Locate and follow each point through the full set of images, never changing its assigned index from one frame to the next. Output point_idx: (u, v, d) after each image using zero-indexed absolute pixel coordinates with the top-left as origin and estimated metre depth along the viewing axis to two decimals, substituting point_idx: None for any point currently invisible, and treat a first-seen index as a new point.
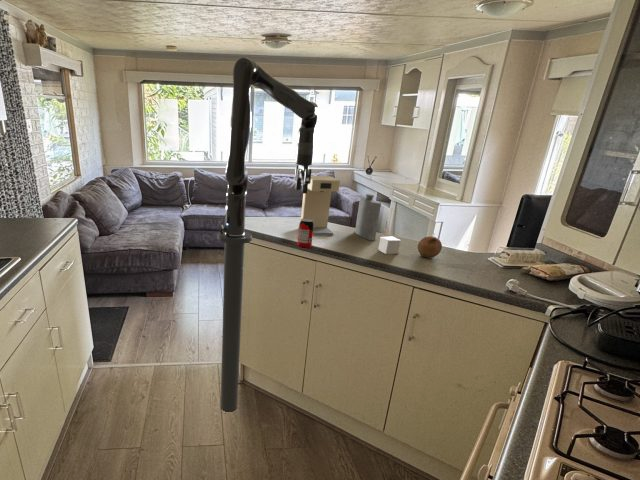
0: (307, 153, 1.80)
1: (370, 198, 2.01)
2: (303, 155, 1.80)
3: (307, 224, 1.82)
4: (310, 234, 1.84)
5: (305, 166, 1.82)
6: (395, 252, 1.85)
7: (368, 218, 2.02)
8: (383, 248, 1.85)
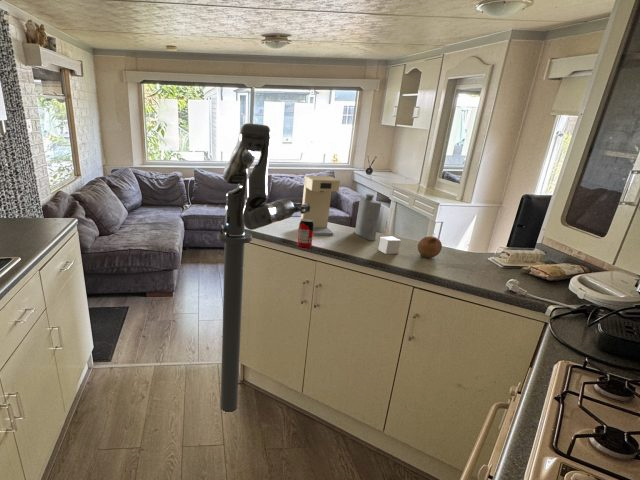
0: None
1: (370, 198, 2.01)
2: None
3: (307, 224, 1.82)
4: (310, 234, 1.84)
5: None
6: (395, 252, 1.85)
7: (368, 218, 2.02)
8: (383, 248, 1.85)
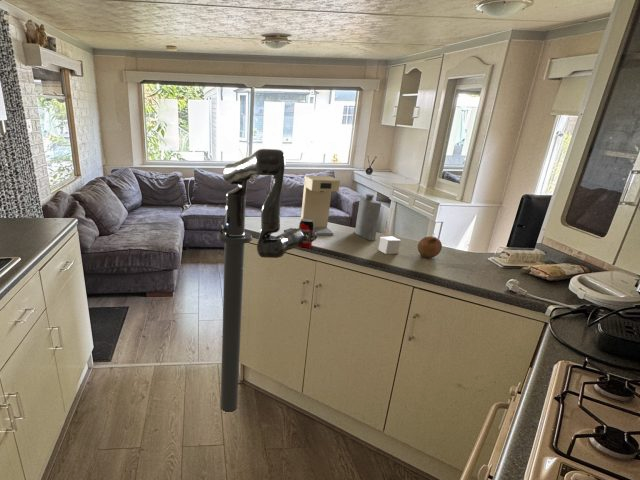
0: None
1: (370, 198, 2.01)
2: None
3: (307, 224, 1.82)
4: (310, 234, 1.84)
5: None
6: (395, 252, 1.85)
7: (368, 218, 2.02)
8: (383, 248, 1.85)
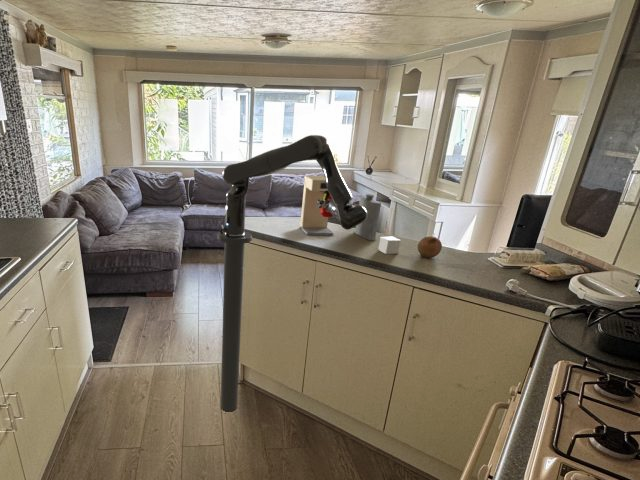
0: (330, 208, 1.80)
1: (370, 198, 2.01)
2: (331, 204, 1.81)
3: None
4: None
5: (327, 205, 1.85)
6: (395, 252, 1.85)
7: (368, 218, 2.02)
8: (383, 248, 1.85)
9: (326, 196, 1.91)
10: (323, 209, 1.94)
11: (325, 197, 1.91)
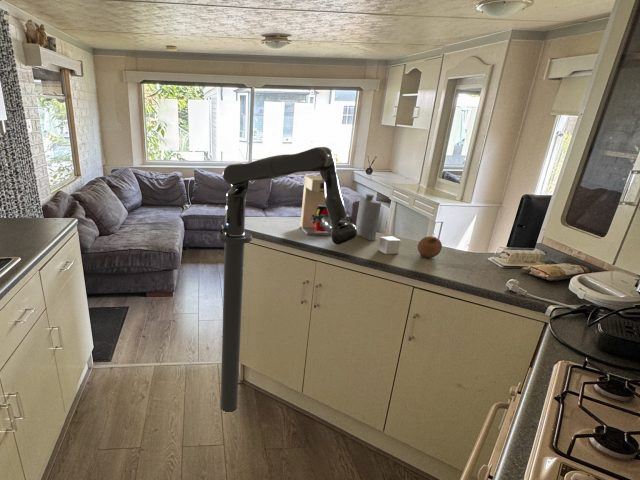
0: (323, 223, 1.90)
1: (370, 198, 2.01)
2: (324, 220, 1.90)
3: None
4: None
5: (320, 220, 1.95)
6: (395, 252, 1.85)
7: (368, 218, 2.02)
8: (383, 248, 1.85)
9: (319, 211, 2.00)
10: (317, 224, 2.03)
11: (318, 212, 2.01)
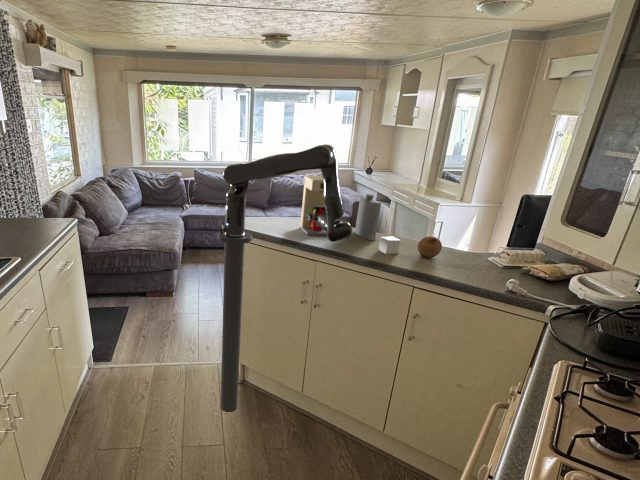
0: (319, 222, 1.96)
1: (370, 198, 2.01)
2: (320, 218, 1.96)
3: (324, 209, 2.06)
4: None
5: (316, 218, 2.00)
6: (395, 252, 1.85)
7: (368, 218, 2.02)
8: (383, 248, 1.85)
9: (316, 212, 2.06)
10: (313, 223, 2.09)
11: (315, 212, 2.07)
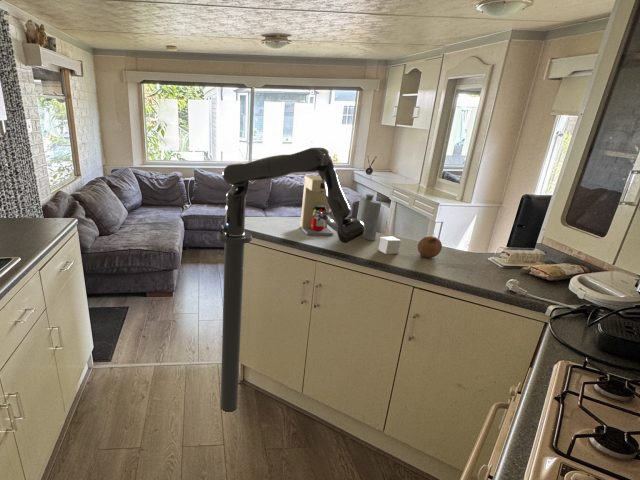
0: (329, 220, 1.83)
1: (370, 198, 2.01)
2: (329, 216, 1.83)
3: (324, 209, 2.06)
4: None
5: (325, 217, 1.87)
6: (395, 252, 1.85)
7: (368, 218, 2.02)
8: (383, 248, 1.85)
9: None
10: (313, 223, 2.09)
11: None
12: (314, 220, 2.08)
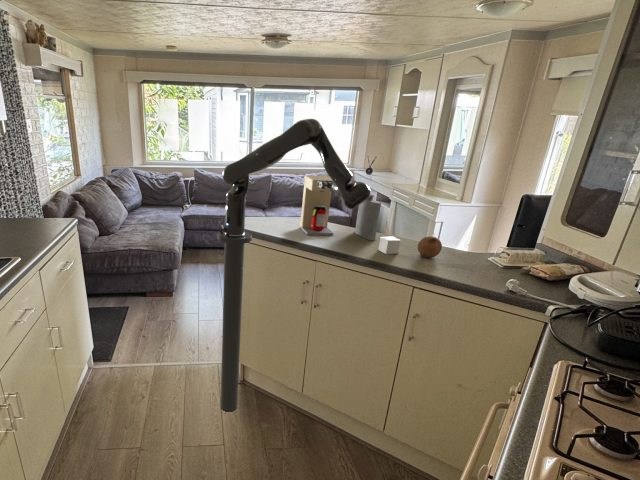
0: (333, 187, 1.77)
1: (370, 198, 2.01)
2: (334, 183, 1.77)
3: (324, 209, 2.06)
4: None
5: (329, 185, 1.82)
6: (395, 252, 1.85)
7: (368, 218, 2.02)
8: (383, 248, 1.85)
9: (316, 212, 2.06)
10: (313, 223, 2.09)
11: (315, 212, 2.07)
12: (314, 220, 2.08)
